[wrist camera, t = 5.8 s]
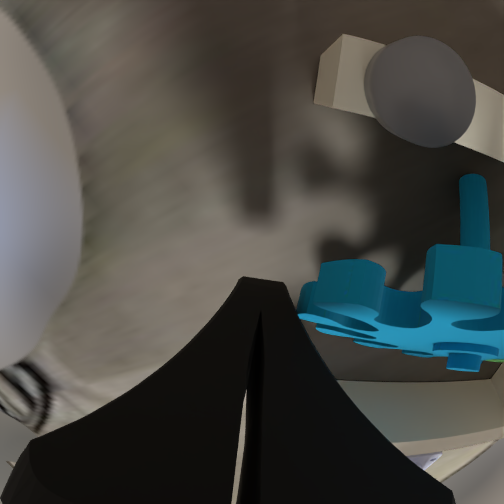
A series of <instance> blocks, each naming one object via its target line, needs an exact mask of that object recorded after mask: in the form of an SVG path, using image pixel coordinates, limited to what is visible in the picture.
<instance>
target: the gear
mask: <svg viewBox="0 0 504 504" xmlns="http://www.w3.org/2000/svg"><path fill="white" fill-rule="evenodd" d="M459 193H460V245H445V244H436V245H434V246H432V247H430V249H429V250H428V251H427V254H426V265H425V275H424V283H423V291H417V292H406V291H399V290H395V289H391V288H388V287H386V286H384V283H385V276H386V271H385V269H384V268H383V267H382V266H380V265H379V264H377V263H375V262H372V261H369V260H365V259H347V260H337V261H330V262H325V263H321V268H320V272H319V277H318V281H317V282H316V281H312V282H308V283H305V284H304V285H303V287H302V289H301V293H300V297H299V301H298V305H297V309H296V312H297V314H298V316H299V318H300V319H303V320H307V321H311V322H315V323H317V325H316V329H317V330H318V331H320V332H322V333H326V334H331V335H336V336H344V337H351V338H354V340H353V342H355V343H358V344H361V345H364V346H368V347H374V348H391V349H402V353H403V354H407V355H412V356H418V357H426V358H431V357H437V356H445V357H448V361H447V366H446V368H447V369H451V370H458V371H470V372H479V370H480V364H481V363H482V362H483V360H486V361H490V362H504V273H503V272H502V254H501V253H499V252H495V251H492V250H490V223H489V206H488V194H487V184H486V180H485V178H484V177H482V176H481V175H479V174H466V175H464V176H462V177H461V178H460V180H459Z"/></svg>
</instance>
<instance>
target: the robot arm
mask: <svg viewBox="0 0 504 504" xmlns="http://www.w3.org/2000/svg"><path fill="white" fill-rule="evenodd" d="M246 389H247V393H246ZM245 393H246V429H245V445H244V453H243V460H242V467H241V475H240V482H239V489H238V496H237V502H236V504H456V503H455V499H454V496H453V492H452V491H451V490H450V489H449V488H447V487H446V486H444V485H443V484H442V483H440V482H439V481H438V480H436V479H435V478H433V477H432V476H431V475H429V474H428V473H427V472H425V471H424V470H425V469H426V468H428V467H429V466H430V465H431V464H432V463H434V462H435V461H436V460H437V459H438V458H439V457H441V455H442V451H440V452H434V453H427V454H419V455H410V456H405V455H404V454H403V453H402V452H401V451H400V450H399V449H398V448H396V447H395V446H394V445H393V444H392V443H391V442H390V441H389V440H388V439H387V438H386V437H385V436H384V435H383V434H382V433H381V432H380V431H379V430H378V429H377V428H376V427H375V426H374V425H373V424H372V423H371V421H370V420H369V419H368V418H367V417H366V416H365V415H364V414H363V413H362V412H361V411H360V410H359V408H358V407H357V406H356V405H355V404H354V402H353V401H352V400H351V399H350V397H349V396H348V395H347V394H346V392H345V391H344V390H343V388H342V387H341V386H340V384H339V383H338V382H337V380H336V379H335V378H334V376H333V375H332V373H331V372H330V370H329V369H328V367H327V366H326V364H325V363H324V361H323V359H322V358H321V356H320V355H319V353H318V351H317V350H316V348H315V346H314V345H313V343H312V341H311V339H310V337H309V335H308V334H307V332H306V330H305V328H304V326H303V324H302V322H301V320H300V318H299V316H298V314H297V312H296V310H295V307H294V305H293V303H292V300H291V298H290V295H289V293H288V290H287V287H286V285H285V284H284V283H283V282H278V281H271V280H264V279H257V278H250V277H244V276H243V277H242V278H240V279H239V280H238V282H237V284H236V286H235V288H234V289H233V291H232V292H231V294H230V295H229V297H228V298H227V299H226V301H225V302H224V304H223V305H222V306H221V307H220V309H219V310H218V311H217V312H216V313H215V315H214V316H213V317H212V318H211V320H210V321H209V322H208V323H207V324H206V325H205V326H204V327H203V328H202V329H201V330H200V331H199V333H198V334H197V335H196V336H195V337H194V338H193V339H192V340H191V341H190V342H189V343H188V344H187V345H186V346H185V347H184V348H183V349H181V350H180V351H179V352H178V353H177V354H176V355H175V356H174V357H173V358H171V359H170V360H169V361H168V362H167V363H165V364H164V365H163V366H162V367H161V368H159V369H158V370H157V371H155V372H154V373H153V374H151V375H150V376H149V377H147V378H146V379H145V380H143V381H142V382H141V383H139V384H138V385H136V386H135V387H133V388H132V389H131V390H129V391H128V392H126V393H124V394H123V395H121V396H120V397H118V398H116V399H114V400H113V401H111V402H109V403H108V404H106V405H104V406H102V407H101V408H99V409H97V410H96V411H94V412H92V413H90V414H88V415H87V416H85V417H83V418H81V419H79V420H77V421H74V422H72V423H70V424H68V425H65V426H63V427H61V428H59V429H56V430H54V431H52V432H49V433H47V434H45V435H42V436H40V437H37V438H35V439H32V440H31V441H30V442H29V444H28V445H27V447H26V449H25V450H24V451H23V452H22V454H21V455H20V457H19V459H18V461H17V462H16V464H15V466H14V468H13V471H12V473H11V475H10V477H9V479H8V482H7V483H6V486H5V488H4V490H3V492H2V495H1V497H0V499H1V501H2V504H231V501H232V493H233V484H234V475H235V467H236V458H237V450H238V442H239V433H240V425H241V416H242V408H243V401H244V397H245Z"/></svg>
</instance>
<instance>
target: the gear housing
mask: <svg viewBox="0 0 504 504" xmlns="http://www.w3.org/2000/svg"><path fill="white" fill-rule="evenodd" d="M314 104H318V105H322V106H326V107H330V108H334V109H339V110H344V111H348V112H353V113H357V114H361V115H365V116H369V117H373V118H376V120H377V121H378V122H379V123H380V124H381V125H382V126H383V127H384V128H385V129H386V130H388V131H389V132H390V133H392V134H394V135H396V136H398V137H400V138H402V139H405V140H407V141H409V142H412V143H414V144H417V145H419V146H423V147H429V148H437V147H443V146H446V145H449V144H451V143H453V142H454V143H457V144H460V145H462V146H465V147H468V148H470V149H473V150H475V151H478V152H480V153H483V154H485V155H488V156H490V157H492V158H495V159H497V160H499V161H501V162H504V95H503V94H502V93H500V92H498V91H496V90H494V89H492V88H490V87H488V86H486V85H485V84H483V83H481V82H479V81H476V80H474V79H472V76H471V74H470V72H469V69H468V68H467V66H466V64H465V63H464V61H463V60H462V59H461V57H460V56H459V55H458V54H457V53H456V52H455V51H454V50H453V49H452V48H450V47H449V46H448V45H446V44H445V43H443V42H441V41H439V40H437V39H434V38H431V37H426V36H410V37H406V38H403V39H400V40H398V41H395V42H393V43H390V44H388V45H384V44H381V43H378V42H374V41H370V40H367V39H363V38H359V37H355V36H351V35H347V34H342V35H341V36H340V37H339V38H338V39H337V40H336V41H335V42H334V43H333V44H332V45H331V46H330V47H329V48H328V49H327V50H326V51H325V52H324V53H323V54H321V56H320V63H319V70H318V76H317V83H316V90H315V96H314ZM337 382H338V383H339V384H340V386H341V387H342V388H343V390H344V391H345V392H346V394H347V395H348V396H349V397H350V399H351V400H352V401H353V402H354V404H355V405H356V406H357V407H358V408H359V410H360V411H361V412H362V413H363V414H364V415H365V416H366V417H367V418H368V419H369V420H370V421H371V423H372V424H373V425H374V426H375V427H376V428H377V429H378V430H379V431H380V432H381V433H382V434H383V435H384V436H385V437H386V438H387V439H388V440H389V441H390V442H391V443H392V444H393V445H394V446H395V447H396V448H398V449H399V450H400V451H401V452H402V453H403V454H404V455H405V456H410V455H419V454H427V453H434V452H440V451H446V450H452V449H458V448H463V447H468V446H473V445H477V444H482V443H486V442H490V441H494V440H498V439H502V438H504V362H503V363H502V364H501V366H500V367H499V368H498V370H497V371H496V373H495V374H494V375H493V377H492V378H491V379H486V380H472V381H454V382H364V381H345V380H337Z"/></svg>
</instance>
